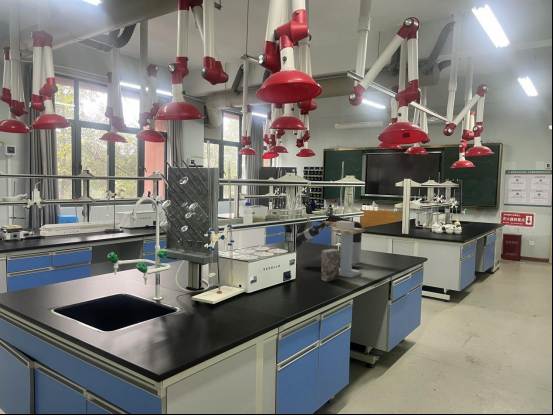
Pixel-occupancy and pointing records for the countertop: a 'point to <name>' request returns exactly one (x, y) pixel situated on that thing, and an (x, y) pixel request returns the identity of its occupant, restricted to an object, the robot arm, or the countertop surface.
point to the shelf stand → (347, 251)
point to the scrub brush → (341, 224)
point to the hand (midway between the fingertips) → (328, 223)
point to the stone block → (330, 264)
